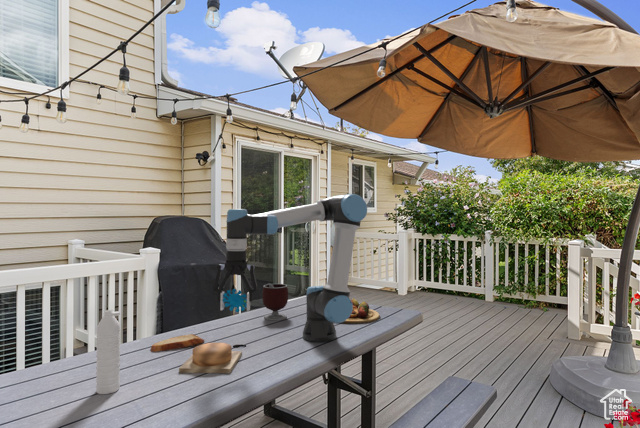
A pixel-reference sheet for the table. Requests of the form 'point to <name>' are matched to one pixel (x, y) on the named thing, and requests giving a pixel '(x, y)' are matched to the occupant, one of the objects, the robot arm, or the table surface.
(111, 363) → the water bottle
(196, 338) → the slice of bread
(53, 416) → the table surface
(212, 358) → the bread on wooden board
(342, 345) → the table surface
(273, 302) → the mate gourd
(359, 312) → the wooden plate with food
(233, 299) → the gear
